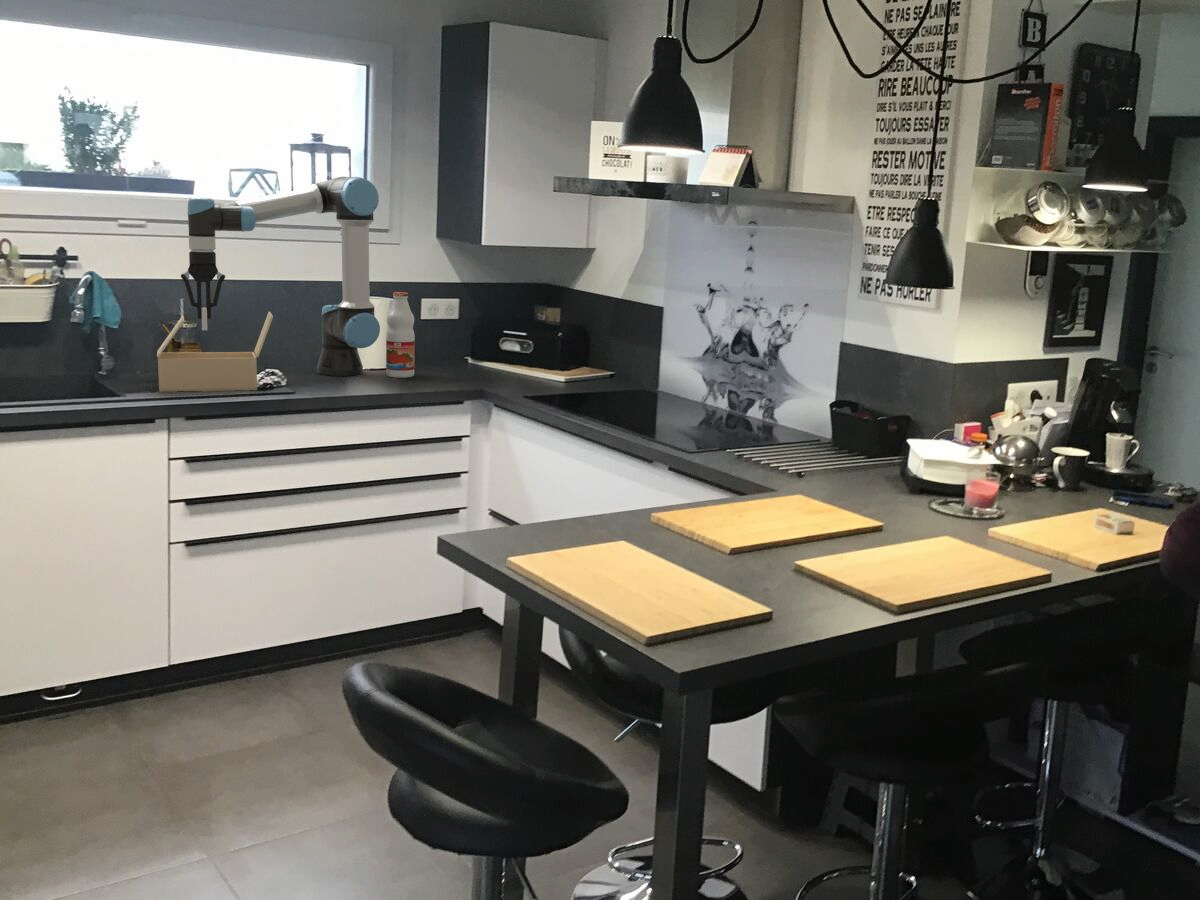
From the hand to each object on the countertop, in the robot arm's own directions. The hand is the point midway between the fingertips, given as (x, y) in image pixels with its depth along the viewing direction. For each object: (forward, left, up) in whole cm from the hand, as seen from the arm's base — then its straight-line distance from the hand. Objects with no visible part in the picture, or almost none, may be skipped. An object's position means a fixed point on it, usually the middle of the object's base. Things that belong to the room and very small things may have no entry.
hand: (204, 329), depth 357 cm
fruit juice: (-63, -18, -18) cm, 68 cm away
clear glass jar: (+6, -19, -18) cm, 27 cm away
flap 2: (-17, 0, -1) cm, 17 cm away
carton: (-1, 0, -18) cm, 18 cm away
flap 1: (+10, 0, -2) cm, 10 cm away
